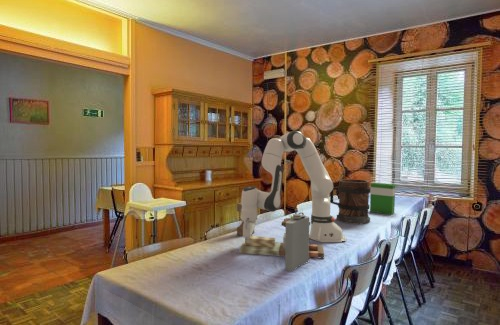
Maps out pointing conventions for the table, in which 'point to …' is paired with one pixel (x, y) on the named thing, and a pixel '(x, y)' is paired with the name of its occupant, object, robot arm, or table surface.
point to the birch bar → (261, 241)
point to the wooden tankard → (352, 201)
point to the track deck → (279, 250)
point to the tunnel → (284, 240)
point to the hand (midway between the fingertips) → (249, 241)
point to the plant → (291, 218)
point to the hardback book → (382, 198)
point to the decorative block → (240, 228)
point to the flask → (297, 242)
